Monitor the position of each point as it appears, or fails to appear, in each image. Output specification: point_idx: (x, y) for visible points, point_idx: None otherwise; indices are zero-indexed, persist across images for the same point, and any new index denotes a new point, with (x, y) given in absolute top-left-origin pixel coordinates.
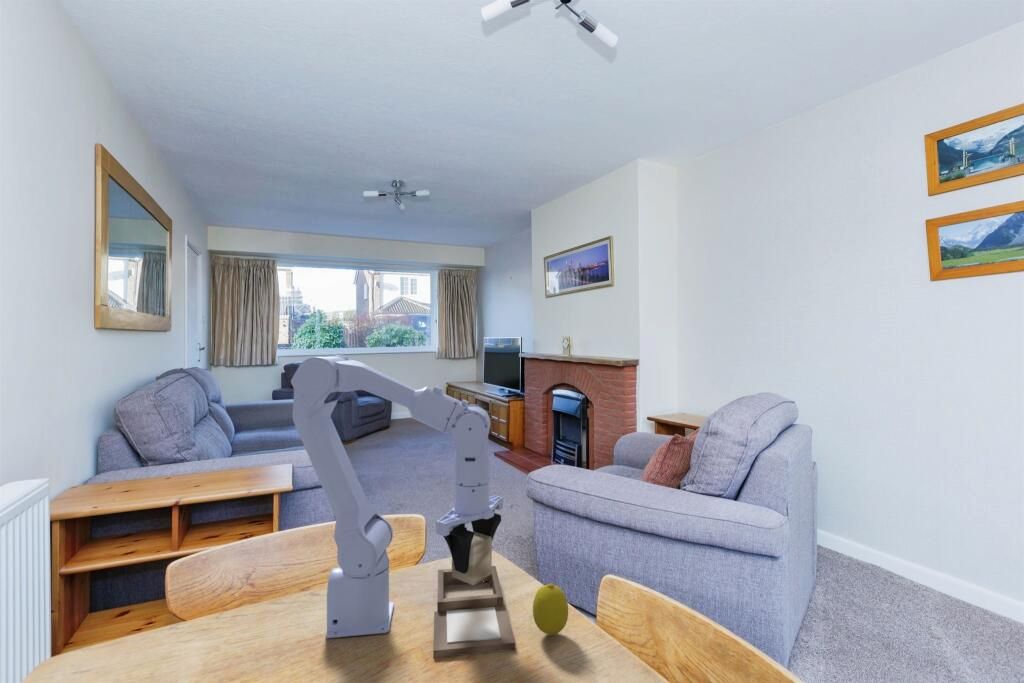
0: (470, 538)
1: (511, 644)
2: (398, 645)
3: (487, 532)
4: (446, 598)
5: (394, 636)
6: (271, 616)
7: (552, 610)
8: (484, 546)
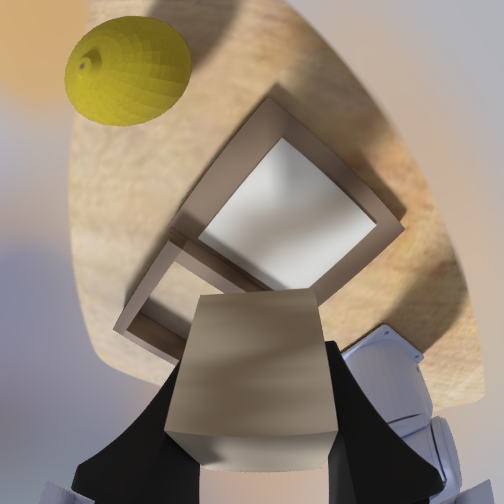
0: (382, 480)
1: (275, 103)
2: (399, 290)
3: (168, 454)
4: None
5: (384, 311)
6: None
7: (157, 23)
8: (234, 409)
